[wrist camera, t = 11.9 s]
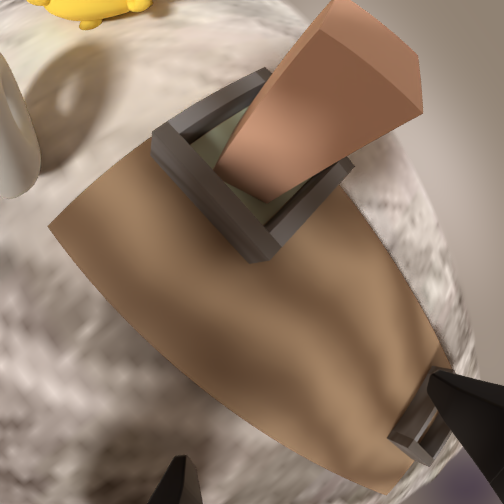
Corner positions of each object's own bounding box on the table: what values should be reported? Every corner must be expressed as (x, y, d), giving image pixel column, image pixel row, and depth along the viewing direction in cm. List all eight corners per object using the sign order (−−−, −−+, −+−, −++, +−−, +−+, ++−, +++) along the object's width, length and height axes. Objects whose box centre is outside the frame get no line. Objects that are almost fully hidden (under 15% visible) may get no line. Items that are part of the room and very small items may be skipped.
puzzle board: (378, 490, 22) (402, 505, 18) (54, 230, 14) (28, 215, 10) (450, 383, 27) (476, 389, 23) (238, 90, 20) (259, 56, 16)
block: (266, 203, 18) (423, 113, 7) (210, 174, 17) (319, 29, 5) (286, 155, 19) (417, 55, 8) (235, 127, 18) (338, -8, 6)
